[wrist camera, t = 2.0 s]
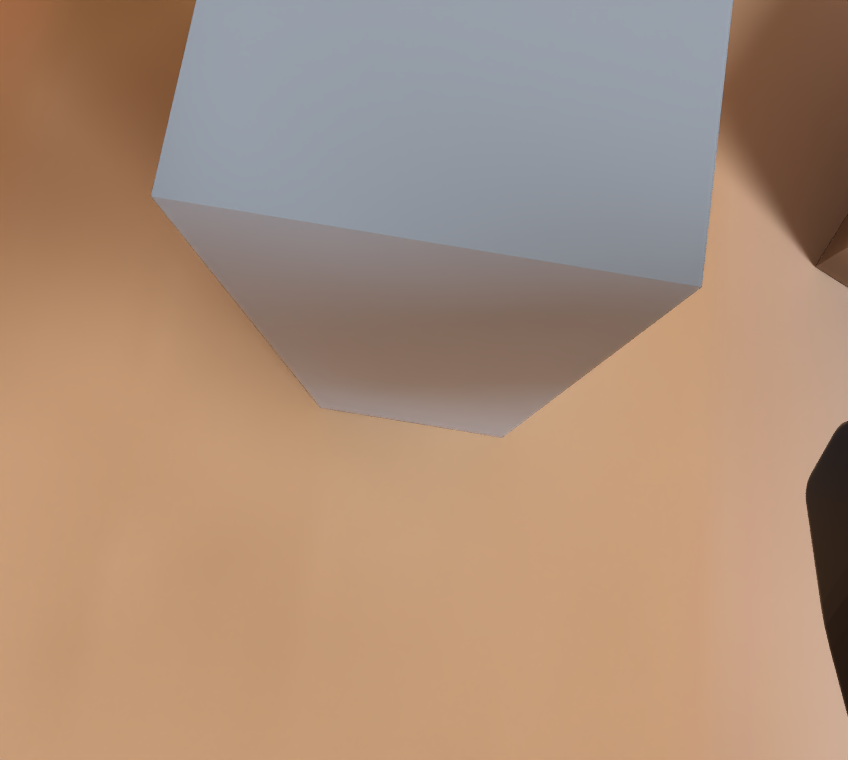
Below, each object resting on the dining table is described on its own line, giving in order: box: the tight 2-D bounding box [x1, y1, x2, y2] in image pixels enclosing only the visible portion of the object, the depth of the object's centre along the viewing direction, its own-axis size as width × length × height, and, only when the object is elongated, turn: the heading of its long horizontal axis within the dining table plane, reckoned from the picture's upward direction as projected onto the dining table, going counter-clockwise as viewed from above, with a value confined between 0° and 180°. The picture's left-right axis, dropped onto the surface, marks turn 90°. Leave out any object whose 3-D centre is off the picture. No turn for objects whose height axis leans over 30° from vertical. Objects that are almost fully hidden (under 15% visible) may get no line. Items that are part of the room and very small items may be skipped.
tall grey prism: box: [151, 0, 733, 437], centre depth 14 cm, size 11×6×13 cm, turn 171°
